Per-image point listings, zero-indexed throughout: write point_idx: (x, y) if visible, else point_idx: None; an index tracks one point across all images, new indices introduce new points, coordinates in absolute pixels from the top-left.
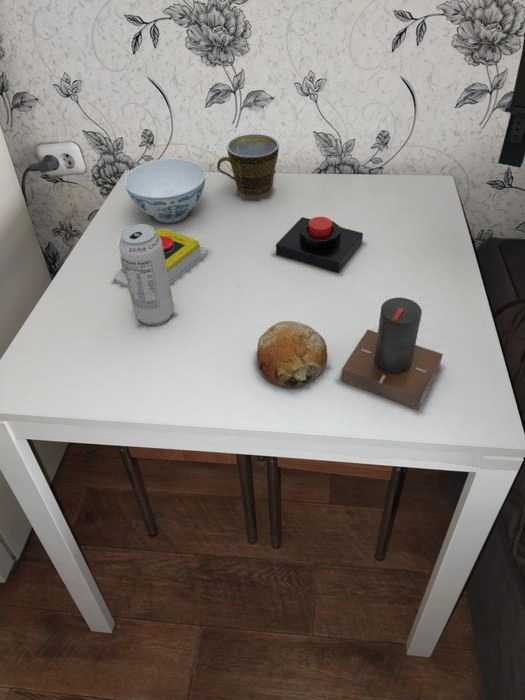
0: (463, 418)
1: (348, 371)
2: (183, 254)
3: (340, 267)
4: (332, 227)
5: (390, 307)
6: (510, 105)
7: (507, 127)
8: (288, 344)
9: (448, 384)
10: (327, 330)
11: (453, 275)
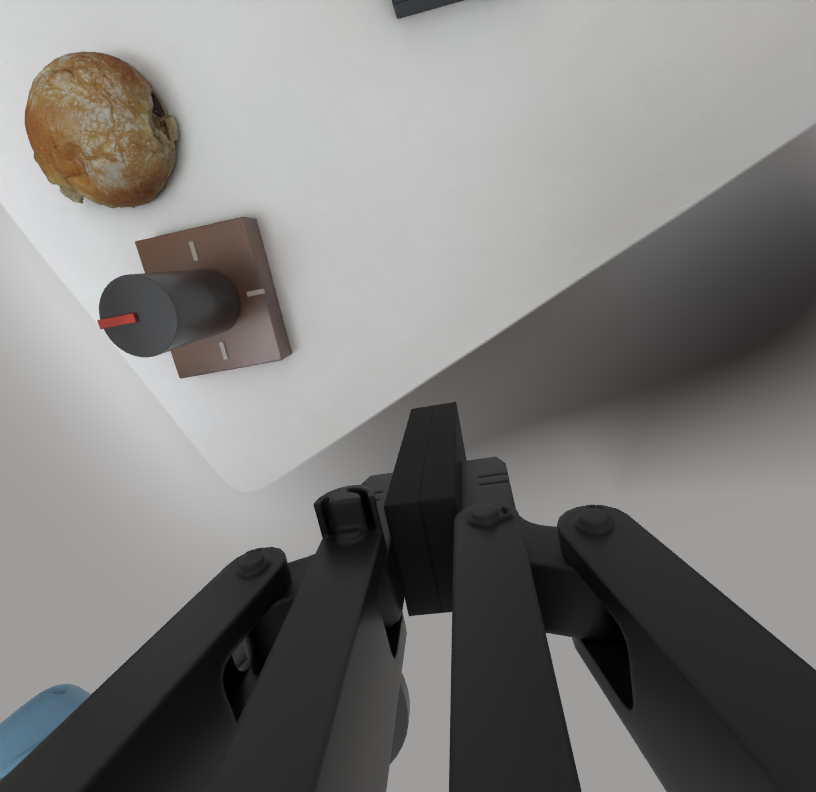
0: (228, 427)
1: (139, 254)
2: None
3: (404, 11)
4: None
5: (128, 294)
6: (244, 568)
7: (395, 468)
8: (41, 140)
9: (269, 382)
10: (231, 135)
11: (544, 247)
